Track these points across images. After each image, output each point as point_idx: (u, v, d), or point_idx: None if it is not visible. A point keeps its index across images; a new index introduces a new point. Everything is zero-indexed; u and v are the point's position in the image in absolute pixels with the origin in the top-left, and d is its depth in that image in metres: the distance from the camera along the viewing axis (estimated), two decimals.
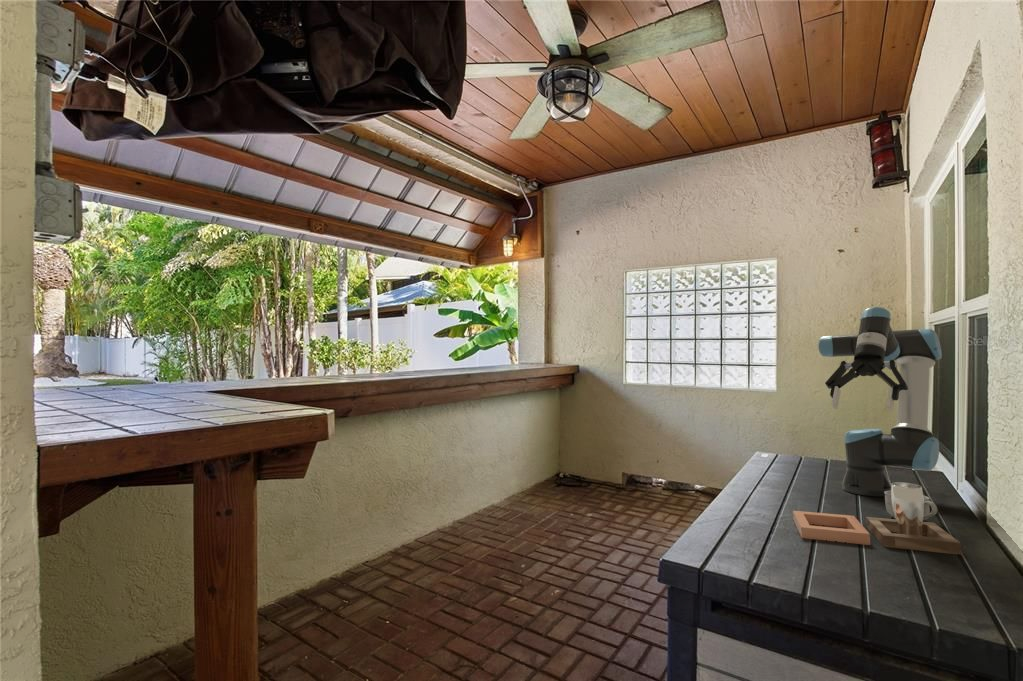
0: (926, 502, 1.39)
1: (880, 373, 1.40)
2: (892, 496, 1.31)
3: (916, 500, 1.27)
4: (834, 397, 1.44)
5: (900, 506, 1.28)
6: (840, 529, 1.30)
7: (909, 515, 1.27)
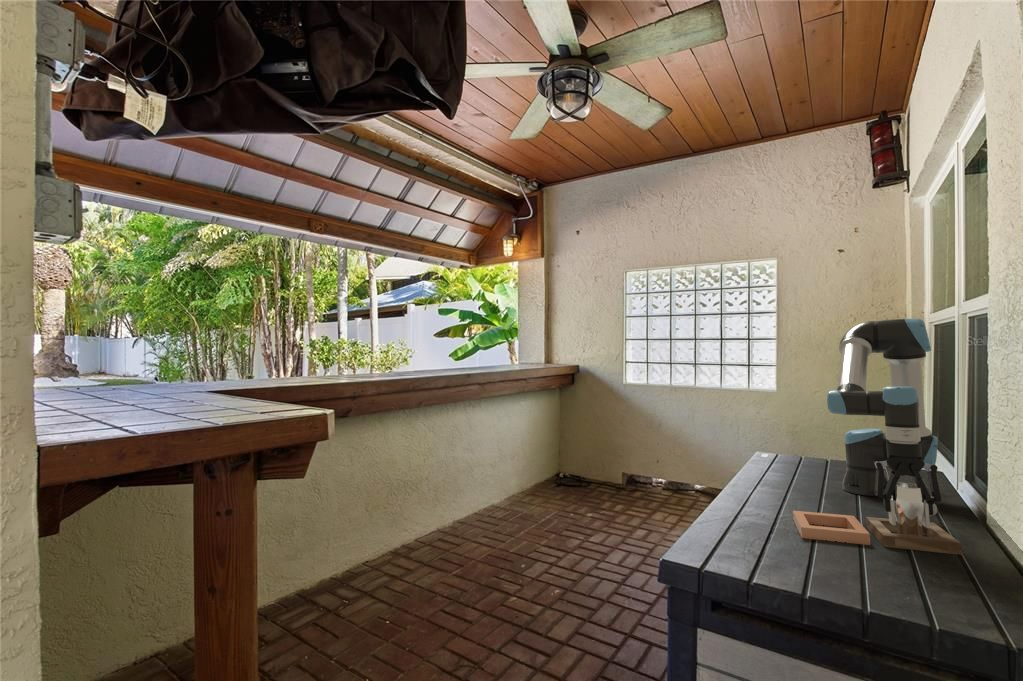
0: None
1: (919, 481, 1.28)
2: (892, 496, 1.31)
3: (916, 500, 1.26)
4: (893, 516, 1.30)
5: (900, 506, 1.28)
6: (840, 529, 1.30)
7: (909, 514, 1.27)
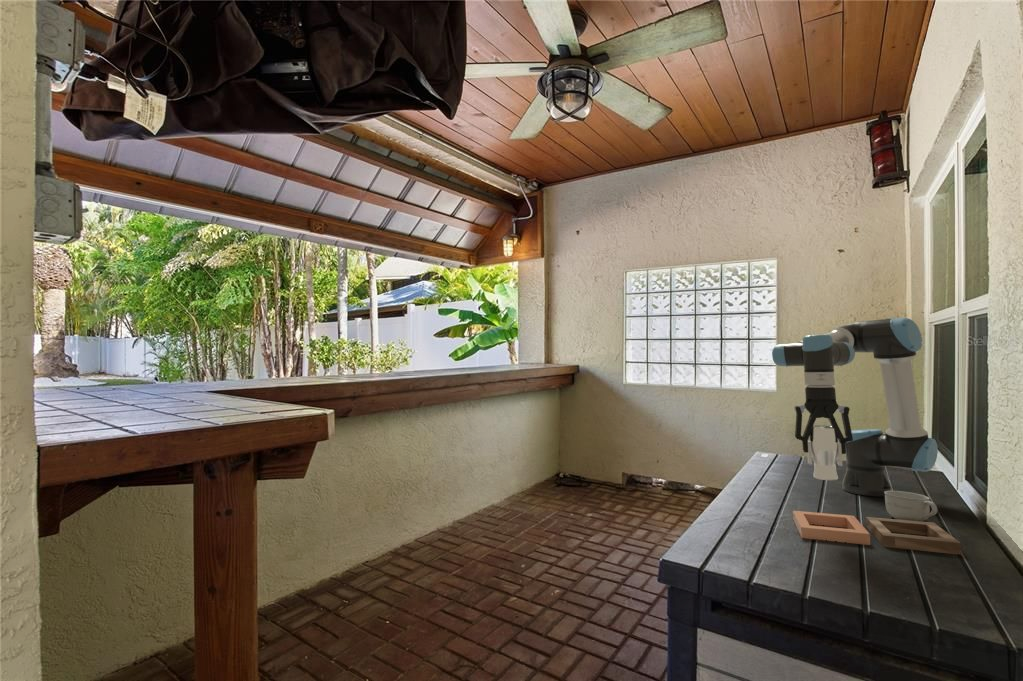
0: (926, 502, 1.39)
1: (833, 422, 1.36)
2: (810, 437, 1.39)
3: (830, 440, 1.35)
4: (810, 456, 1.38)
5: (816, 446, 1.37)
6: (840, 529, 1.30)
7: (824, 453, 1.35)
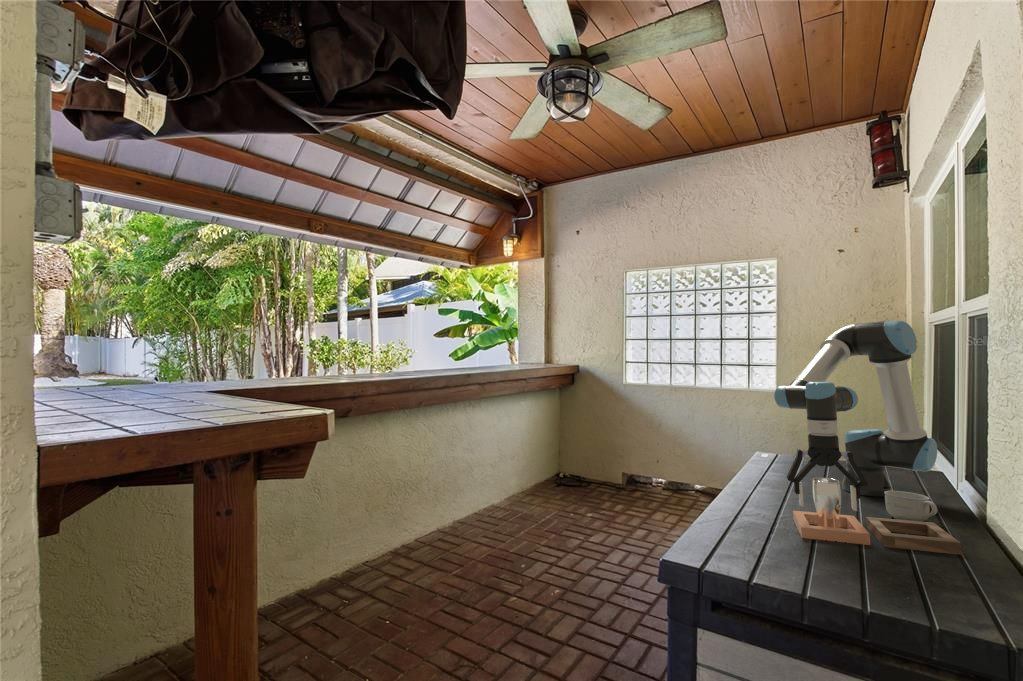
0: (926, 502, 1.39)
1: (841, 469, 1.35)
2: (813, 490, 1.38)
3: (833, 494, 1.34)
4: (801, 498, 1.39)
5: (819, 500, 1.36)
6: (840, 529, 1.30)
7: (827, 508, 1.35)
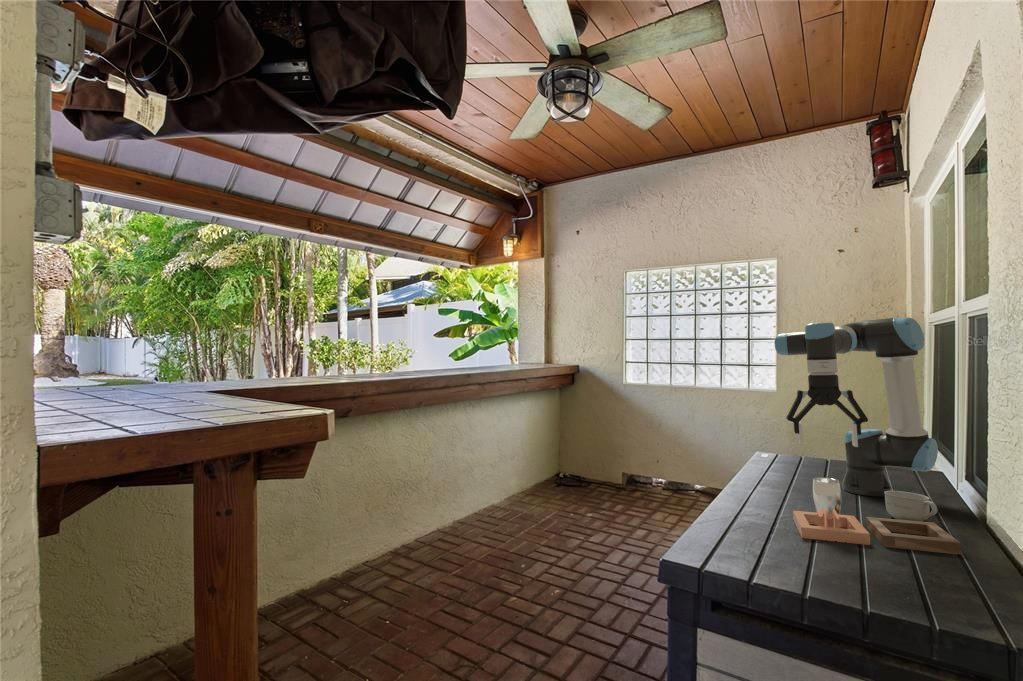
0: (926, 502, 1.39)
1: (841, 407, 1.37)
2: (813, 490, 1.38)
3: (833, 494, 1.34)
4: (801, 437, 1.41)
5: (819, 500, 1.36)
6: (840, 529, 1.30)
7: (827, 508, 1.35)
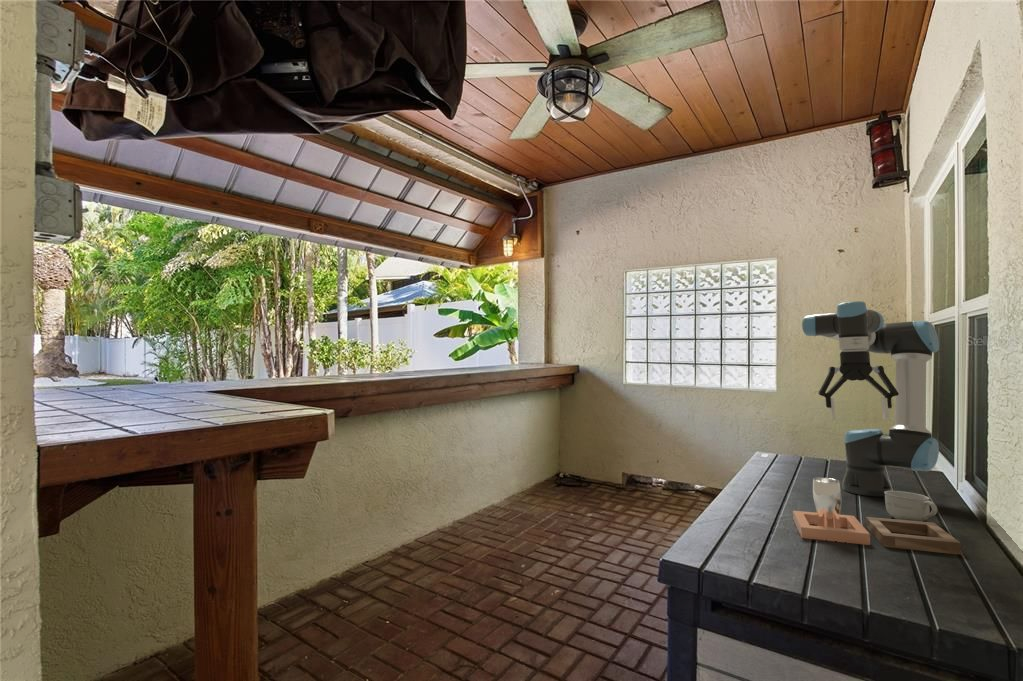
0: (926, 502, 1.39)
1: (872, 382, 1.44)
2: (813, 490, 1.38)
3: (833, 494, 1.34)
4: (833, 411, 1.47)
5: (819, 500, 1.36)
6: (840, 529, 1.30)
7: (827, 508, 1.35)
